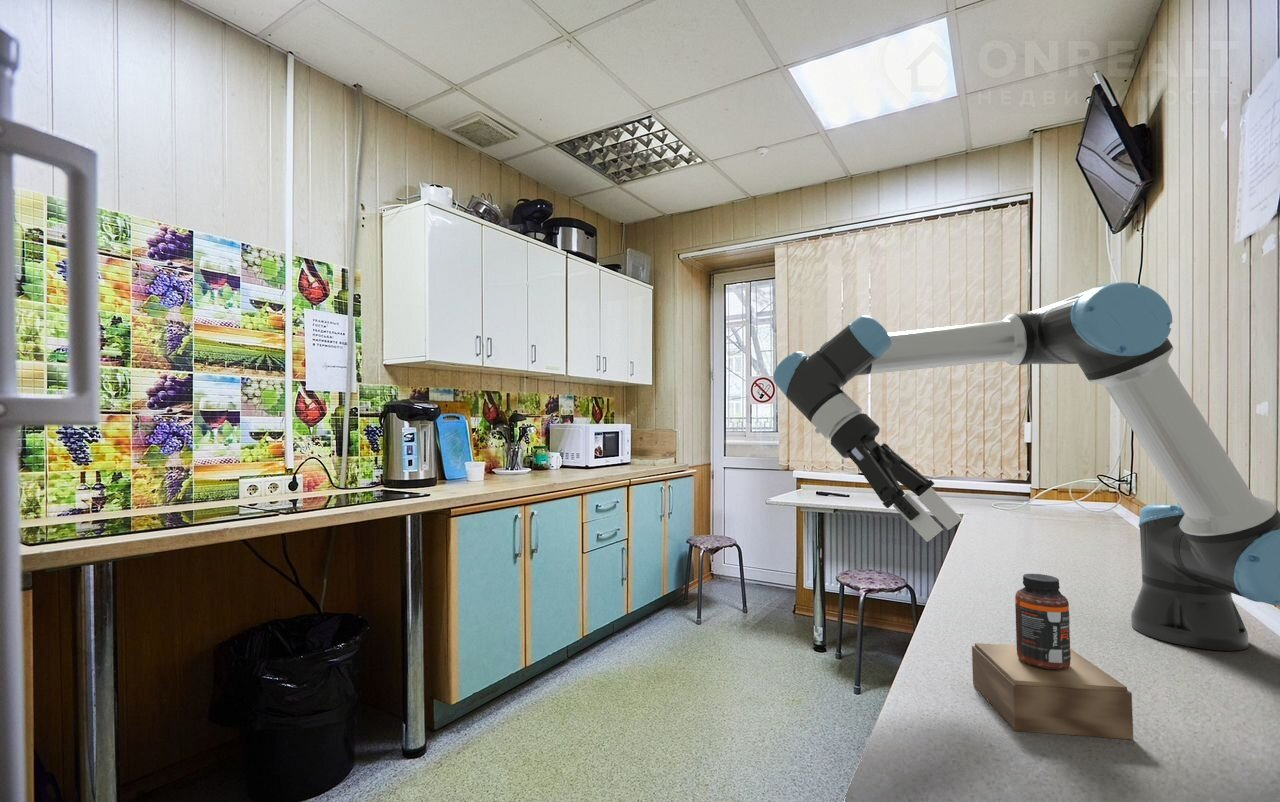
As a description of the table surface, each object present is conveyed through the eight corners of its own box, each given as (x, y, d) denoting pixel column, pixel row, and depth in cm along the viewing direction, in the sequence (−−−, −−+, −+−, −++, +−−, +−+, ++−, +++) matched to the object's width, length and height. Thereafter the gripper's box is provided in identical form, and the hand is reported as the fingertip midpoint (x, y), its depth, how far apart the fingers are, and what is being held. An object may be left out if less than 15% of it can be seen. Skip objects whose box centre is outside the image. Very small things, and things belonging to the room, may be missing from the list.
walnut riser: (1071, 690, 82) (1070, 647, 83) (1133, 739, 70) (1131, 688, 70) (972, 684, 85) (971, 642, 85) (1014, 730, 72) (1013, 681, 72)
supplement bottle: (1073, 675, 73) (1070, 585, 74) (1017, 665, 77) (1014, 578, 77) (1068, 659, 79) (1066, 574, 79) (1016, 650, 82) (1013, 569, 82)
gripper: (855, 441, 108) (945, 534, 98) (799, 442, 89) (903, 558, 78) (885, 413, 105) (981, 506, 95) (834, 408, 85) (947, 523, 75)
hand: (946, 530), depth 86 cm, fingers open, 13 cm apart
